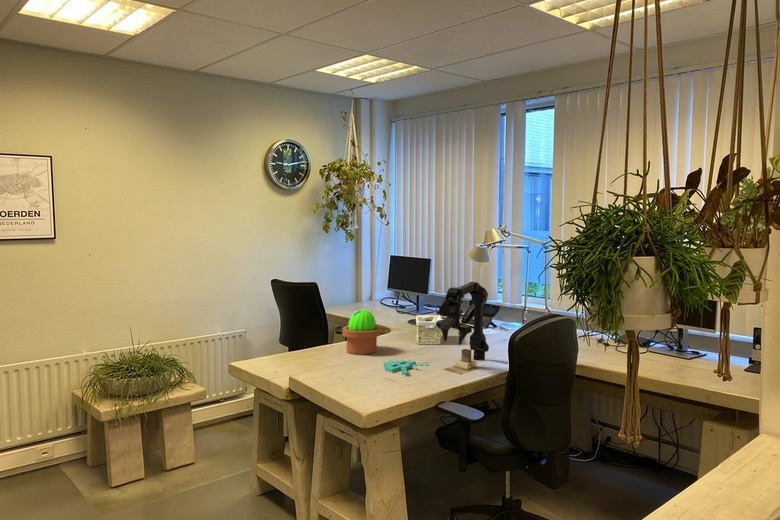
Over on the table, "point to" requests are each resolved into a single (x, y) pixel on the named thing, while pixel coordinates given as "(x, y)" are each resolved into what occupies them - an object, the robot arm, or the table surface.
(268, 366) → the table surface
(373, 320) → the potted cactus
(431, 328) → the storage basket
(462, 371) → the oak board
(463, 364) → the block
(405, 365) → the alien figure
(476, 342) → the robot arm
